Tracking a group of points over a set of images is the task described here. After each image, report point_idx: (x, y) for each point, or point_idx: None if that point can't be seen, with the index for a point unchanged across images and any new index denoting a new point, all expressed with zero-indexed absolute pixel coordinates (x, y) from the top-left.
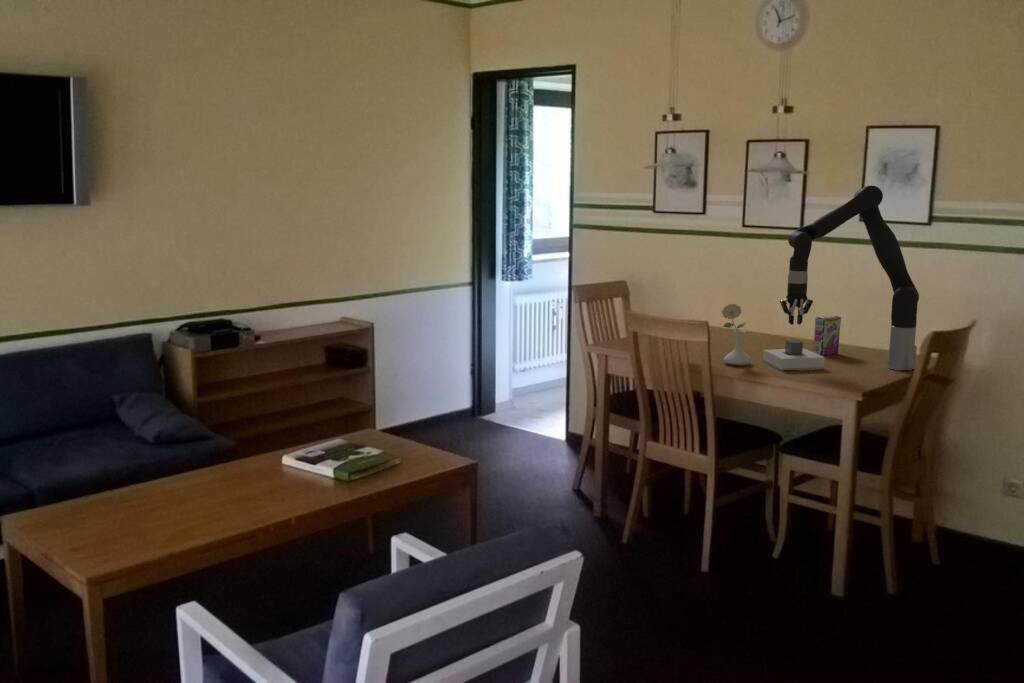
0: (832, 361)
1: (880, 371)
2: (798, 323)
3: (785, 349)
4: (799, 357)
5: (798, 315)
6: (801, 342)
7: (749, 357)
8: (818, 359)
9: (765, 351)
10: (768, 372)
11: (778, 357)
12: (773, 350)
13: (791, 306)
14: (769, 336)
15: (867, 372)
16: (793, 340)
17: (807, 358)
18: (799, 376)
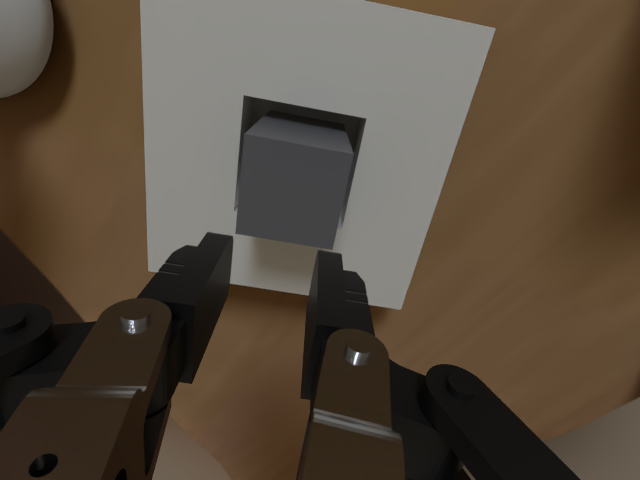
0: (590, 129)
1: (579, 362)
2: (311, 288)
3: (257, 123)
4: (264, 273)
5: (310, 352)
6: (320, 247)
7: (6, 56)
8: None
9: (142, 8)
10: (100, 242)
11: (148, 227)
12: (212, 15)
13: (83, 473)
14: None
15: (516, 360)
16: (307, 159)
17: (301, 292)
18: None
